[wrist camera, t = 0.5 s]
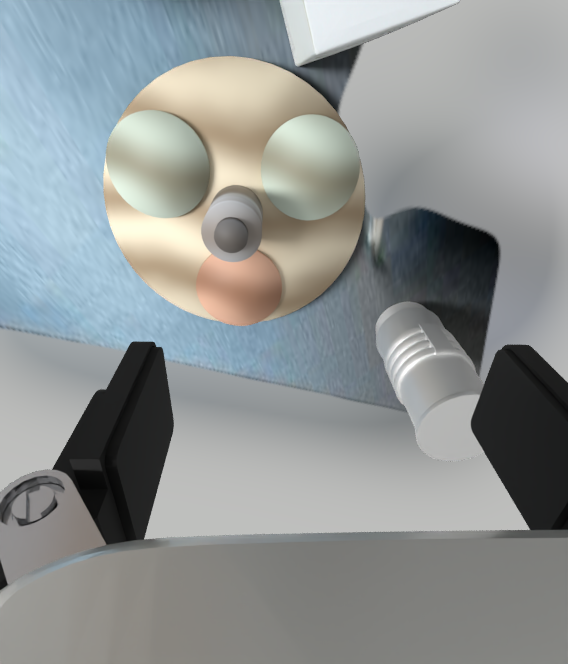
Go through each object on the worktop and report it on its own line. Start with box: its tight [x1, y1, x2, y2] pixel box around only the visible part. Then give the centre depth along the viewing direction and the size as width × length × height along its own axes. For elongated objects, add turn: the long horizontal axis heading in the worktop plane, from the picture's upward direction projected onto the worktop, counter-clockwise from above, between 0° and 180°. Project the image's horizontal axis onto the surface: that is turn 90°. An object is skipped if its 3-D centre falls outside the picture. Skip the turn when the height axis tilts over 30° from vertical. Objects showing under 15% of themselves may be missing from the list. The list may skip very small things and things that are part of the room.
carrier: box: [104, 56, 365, 326], centre depth 32 cm, size 22×22×8 cm
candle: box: [375, 302, 484, 461], centre depth 36 cm, size 7×7×15 cm
